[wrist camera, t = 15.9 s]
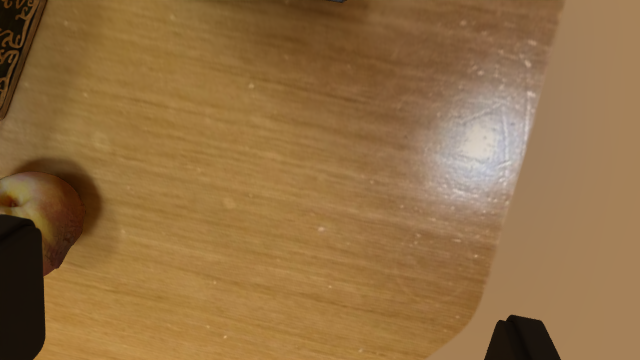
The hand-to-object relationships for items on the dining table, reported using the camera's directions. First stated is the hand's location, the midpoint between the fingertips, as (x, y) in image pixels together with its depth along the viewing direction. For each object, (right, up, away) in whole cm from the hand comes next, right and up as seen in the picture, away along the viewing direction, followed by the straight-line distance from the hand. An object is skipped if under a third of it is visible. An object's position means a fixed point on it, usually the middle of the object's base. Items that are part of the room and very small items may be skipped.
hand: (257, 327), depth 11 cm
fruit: (-20, +1, +32) cm, 37 cm away
